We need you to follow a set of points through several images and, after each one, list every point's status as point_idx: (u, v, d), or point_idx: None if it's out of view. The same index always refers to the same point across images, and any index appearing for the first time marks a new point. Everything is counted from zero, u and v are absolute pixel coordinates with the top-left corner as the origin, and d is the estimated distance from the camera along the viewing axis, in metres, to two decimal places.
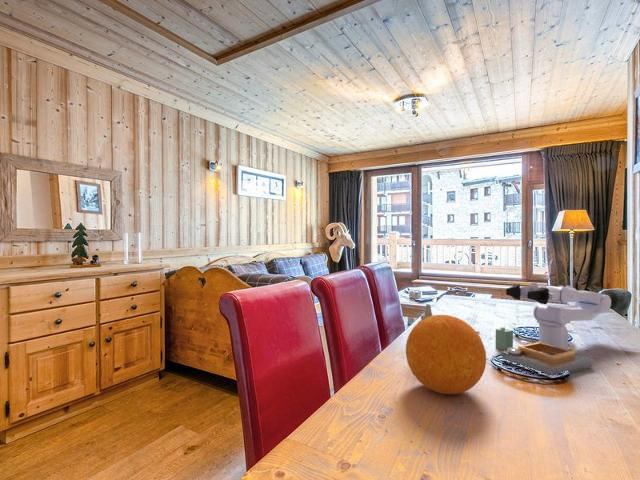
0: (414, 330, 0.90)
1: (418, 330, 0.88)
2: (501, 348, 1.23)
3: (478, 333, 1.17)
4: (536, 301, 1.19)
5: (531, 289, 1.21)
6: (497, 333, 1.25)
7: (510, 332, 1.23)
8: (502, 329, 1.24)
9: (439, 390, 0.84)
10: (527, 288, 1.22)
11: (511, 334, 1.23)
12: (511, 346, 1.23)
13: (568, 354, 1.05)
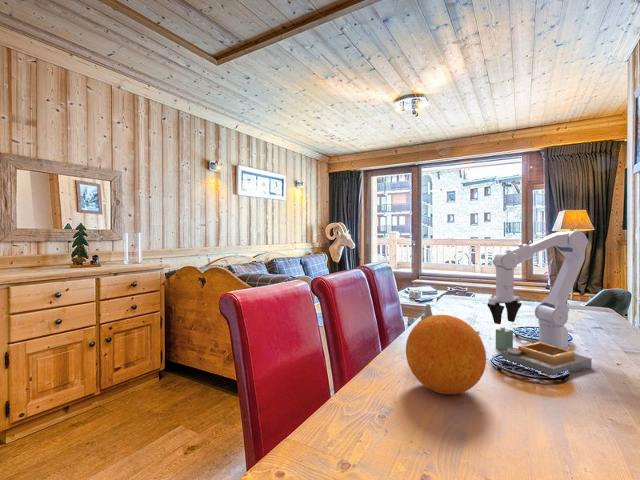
0: (414, 330, 0.90)
1: (418, 330, 0.88)
2: (501, 348, 1.23)
3: (478, 333, 1.17)
4: (508, 301, 1.21)
5: None
6: (497, 333, 1.25)
7: (510, 332, 1.23)
8: (502, 329, 1.24)
9: (439, 389, 0.84)
10: None
11: (511, 334, 1.23)
12: (511, 346, 1.23)
13: (568, 354, 1.05)
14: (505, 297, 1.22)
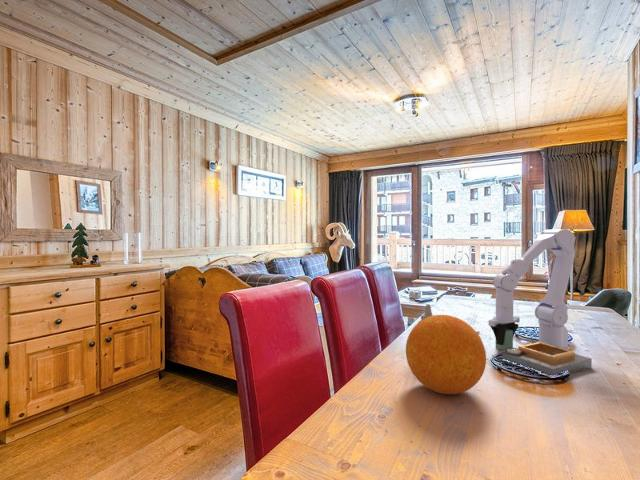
0: (414, 330, 0.90)
1: (418, 330, 0.88)
2: (501, 348, 1.23)
3: (478, 333, 1.17)
4: (508, 322, 1.22)
5: None
6: None
7: (510, 332, 1.23)
8: None
9: (439, 390, 0.84)
10: None
11: (511, 334, 1.23)
12: (511, 346, 1.23)
13: (568, 354, 1.05)
14: (505, 318, 1.22)
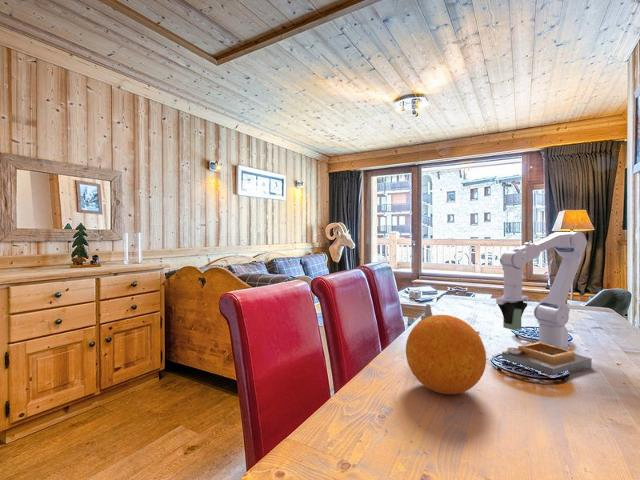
0: (414, 330, 0.90)
1: (418, 330, 0.88)
2: (509, 327, 1.20)
3: (478, 333, 1.17)
4: (516, 301, 1.18)
5: None
6: None
7: (518, 311, 1.20)
8: None
9: (439, 390, 0.84)
10: None
11: (519, 313, 1.20)
12: (519, 325, 1.20)
13: (568, 354, 1.05)
14: (513, 297, 1.18)
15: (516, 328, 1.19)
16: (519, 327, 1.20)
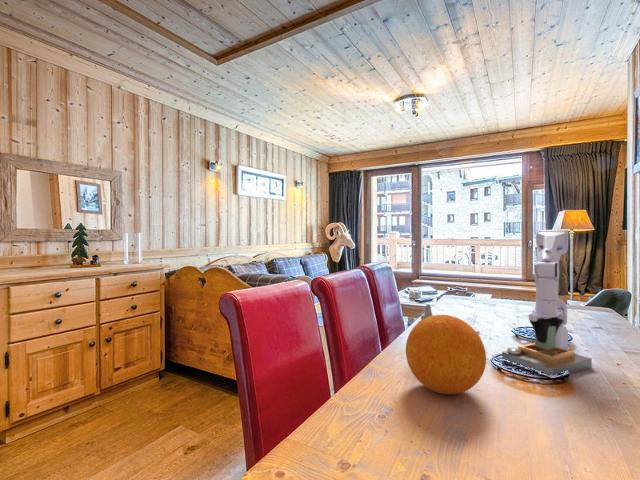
0: (414, 330, 0.90)
1: (418, 330, 0.88)
2: (542, 346, 1.08)
3: (478, 333, 1.17)
4: (551, 317, 1.06)
5: None
6: None
7: (553, 328, 1.08)
8: None
9: (439, 389, 0.84)
10: None
11: (554, 330, 1.08)
12: (554, 344, 1.08)
13: (568, 354, 1.05)
14: (548, 312, 1.06)
15: (550, 347, 1.07)
16: (553, 346, 1.08)
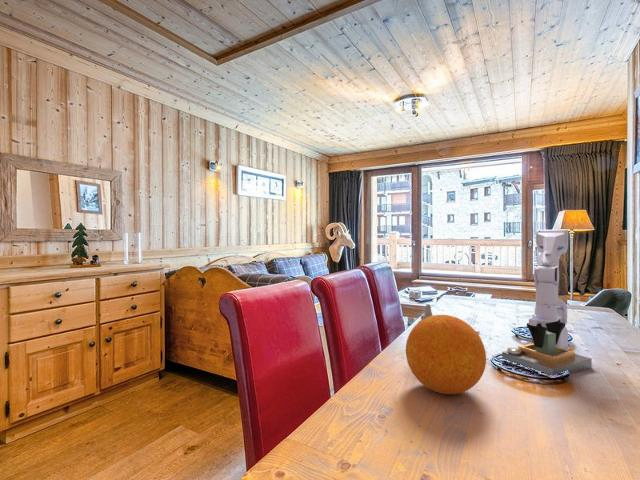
0: (414, 330, 0.90)
1: (418, 330, 0.88)
2: None
3: (478, 333, 1.17)
4: (551, 321, 1.06)
5: None
6: None
7: (553, 335, 1.08)
8: None
9: (439, 389, 0.84)
10: None
11: (554, 338, 1.08)
12: (554, 351, 1.08)
13: (568, 354, 1.05)
14: (548, 317, 1.06)
15: None
16: (553, 353, 1.08)
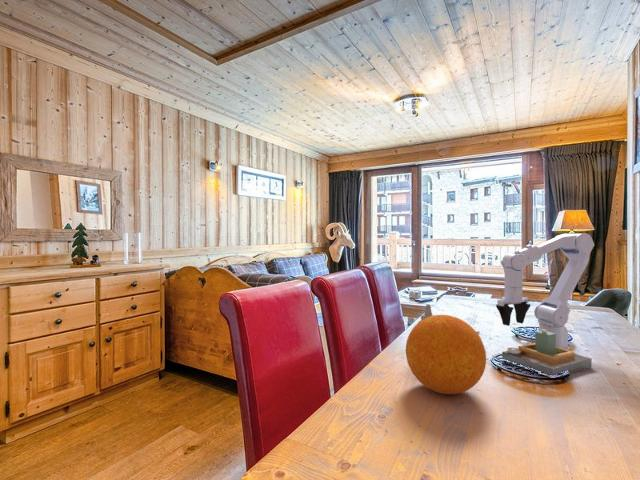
0: (414, 330, 0.90)
1: (418, 330, 0.88)
2: None
3: (478, 333, 1.17)
4: (517, 302, 1.21)
5: None
6: (537, 336, 1.10)
7: (553, 335, 1.08)
8: (543, 332, 1.08)
9: (439, 389, 0.84)
10: None
11: (554, 338, 1.08)
12: (554, 351, 1.08)
13: (568, 354, 1.05)
14: (514, 298, 1.21)
15: None
16: (553, 353, 1.08)
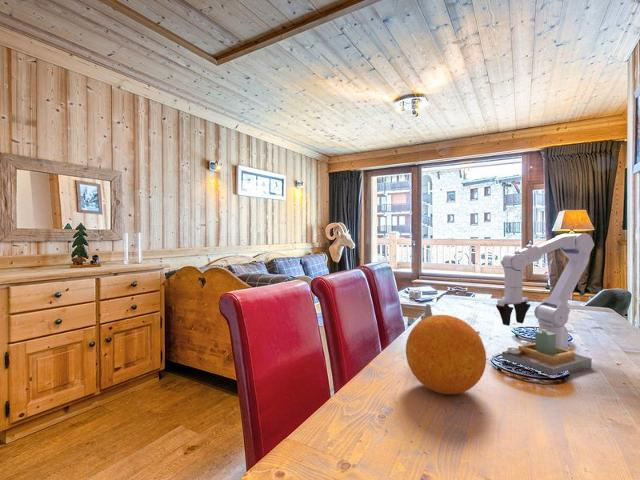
0: (414, 330, 0.90)
1: (418, 330, 0.88)
2: None
3: (478, 333, 1.17)
4: (517, 302, 1.21)
5: None
6: (537, 336, 1.10)
7: (553, 335, 1.08)
8: (543, 332, 1.08)
9: (439, 390, 0.84)
10: None
11: (554, 338, 1.08)
12: (554, 351, 1.08)
13: (568, 354, 1.05)
14: (514, 298, 1.21)
15: None
16: (553, 353, 1.08)
